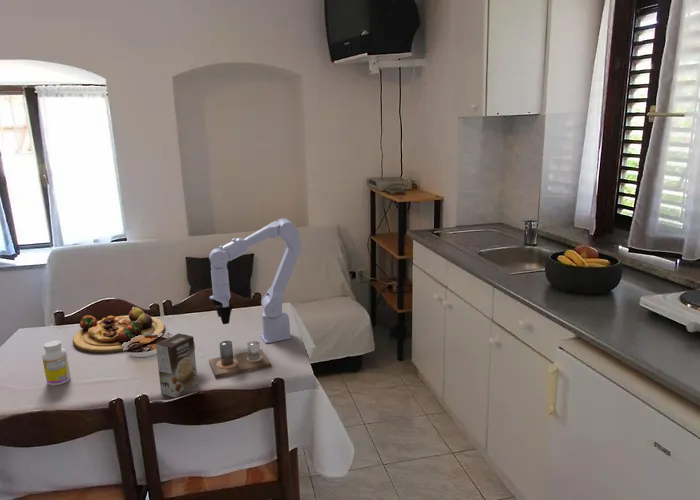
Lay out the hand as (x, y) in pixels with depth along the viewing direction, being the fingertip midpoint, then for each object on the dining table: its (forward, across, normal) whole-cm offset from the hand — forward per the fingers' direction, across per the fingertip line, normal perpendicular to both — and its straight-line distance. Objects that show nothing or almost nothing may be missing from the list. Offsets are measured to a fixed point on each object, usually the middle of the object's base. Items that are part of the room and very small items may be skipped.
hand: (223, 319), depth 193 cm
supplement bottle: (+10, +4, -53) cm, 54 cm away
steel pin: (+8, +18, -3) cm, 20 cm away
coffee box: (+10, +26, -19) cm, 34 cm away
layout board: (+9, +18, +1) cm, 20 cm away
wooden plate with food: (+10, -26, -34) cm, 44 cm away
